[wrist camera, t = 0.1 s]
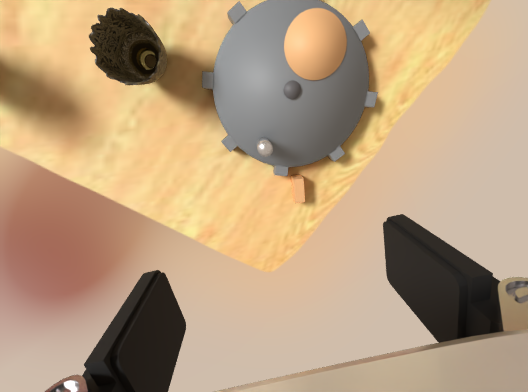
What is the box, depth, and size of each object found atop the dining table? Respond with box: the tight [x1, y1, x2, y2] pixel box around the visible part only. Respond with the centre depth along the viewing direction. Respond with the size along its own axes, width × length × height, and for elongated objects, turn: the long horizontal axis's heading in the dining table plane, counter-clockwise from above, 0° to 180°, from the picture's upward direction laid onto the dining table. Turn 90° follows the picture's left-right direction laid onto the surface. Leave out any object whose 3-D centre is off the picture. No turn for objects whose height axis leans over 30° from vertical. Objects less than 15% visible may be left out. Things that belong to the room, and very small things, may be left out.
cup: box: [89, 8, 167, 85], centre depth 31 cm, size 8×7×8 cm
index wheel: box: [202, 0, 378, 176], centre depth 33 cm, size 24×24×7 cm
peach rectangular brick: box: [291, 175, 305, 203], centre depth 41 cm, size 4×2×2 cm, turn 7°
